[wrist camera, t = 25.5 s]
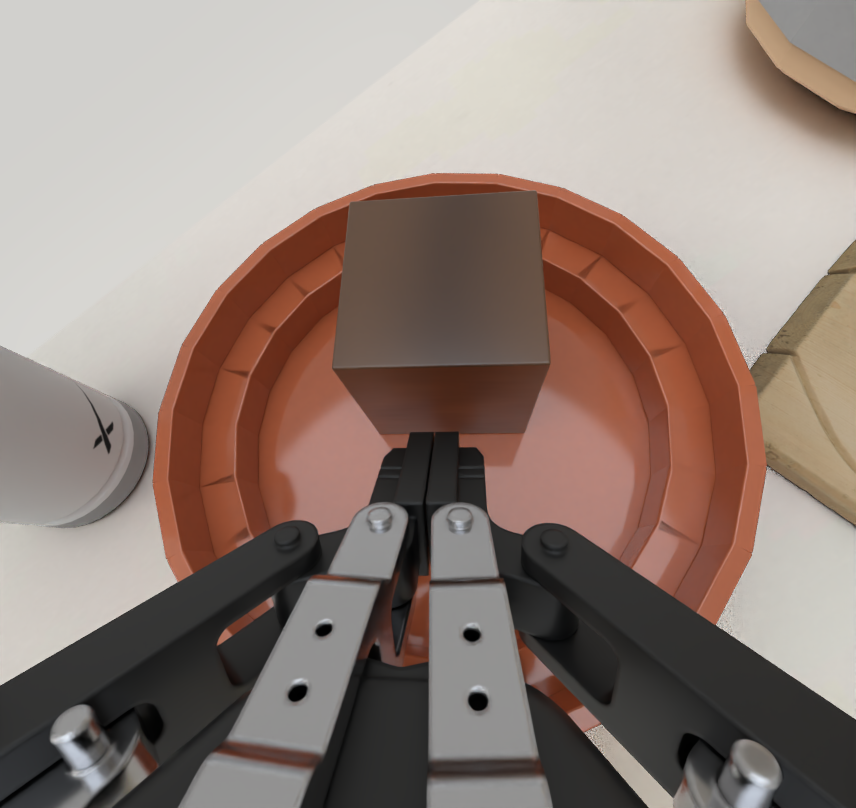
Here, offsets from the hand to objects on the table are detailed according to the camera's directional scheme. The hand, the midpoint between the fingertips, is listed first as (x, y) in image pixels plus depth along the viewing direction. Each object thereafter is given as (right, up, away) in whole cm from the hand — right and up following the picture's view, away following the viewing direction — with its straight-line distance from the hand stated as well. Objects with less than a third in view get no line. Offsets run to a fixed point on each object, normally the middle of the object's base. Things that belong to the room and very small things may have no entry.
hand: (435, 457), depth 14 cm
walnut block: (+1, +3, +7) cm, 8 cm away
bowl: (+1, 0, +6) cm, 6 cm away
